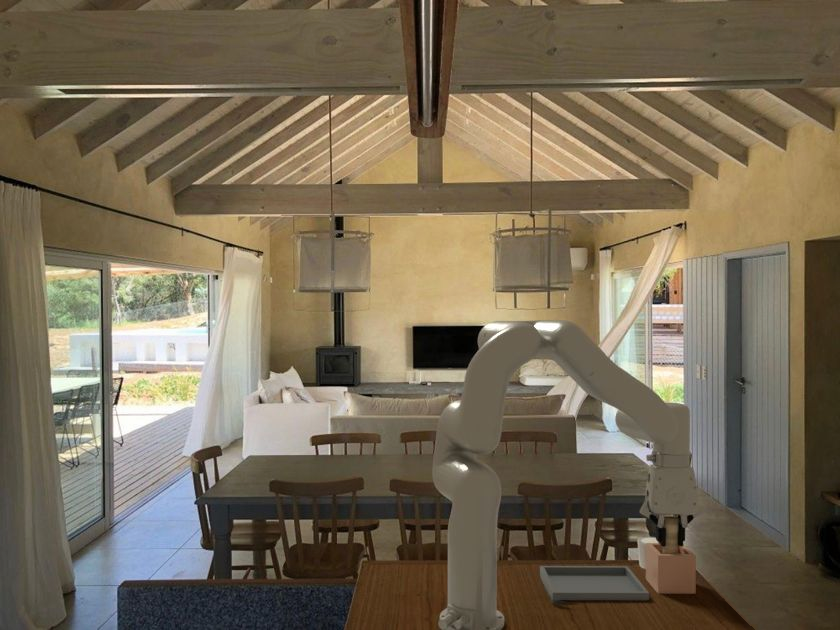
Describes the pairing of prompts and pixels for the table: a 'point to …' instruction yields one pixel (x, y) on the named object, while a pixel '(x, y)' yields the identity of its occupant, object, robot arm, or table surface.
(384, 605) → the table surface
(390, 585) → the table surface
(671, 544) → the dowel
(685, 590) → the holder
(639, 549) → the cream short cylinder
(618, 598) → the tray
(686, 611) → the table surface
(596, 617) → the table surface
